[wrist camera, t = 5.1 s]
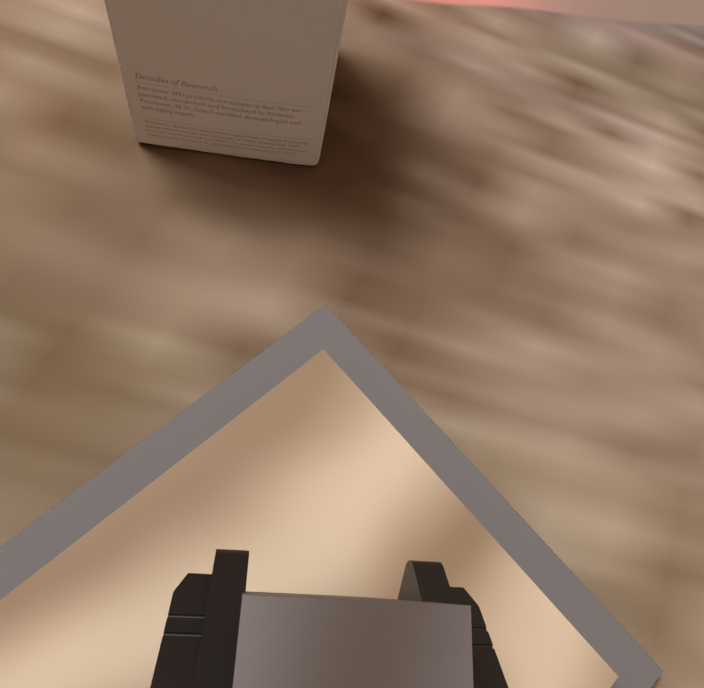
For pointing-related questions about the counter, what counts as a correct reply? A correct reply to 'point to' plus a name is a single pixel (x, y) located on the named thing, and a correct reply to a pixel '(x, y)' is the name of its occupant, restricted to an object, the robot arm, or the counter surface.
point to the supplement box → (230, 73)
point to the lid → (294, 565)
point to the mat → (404, 415)
